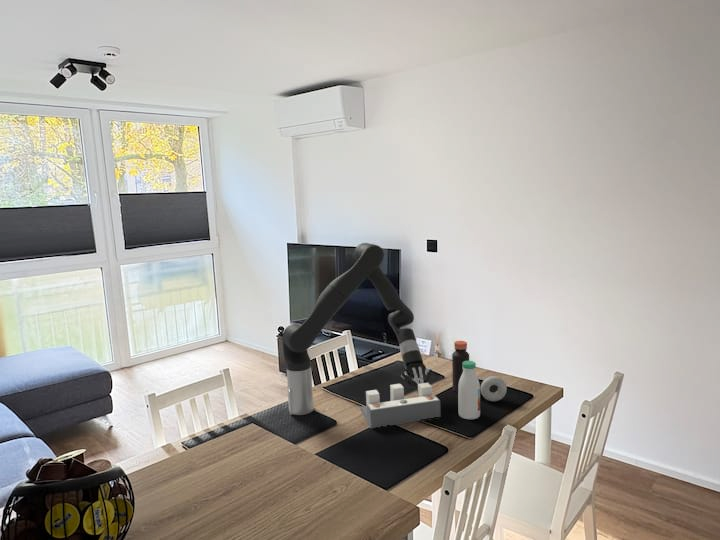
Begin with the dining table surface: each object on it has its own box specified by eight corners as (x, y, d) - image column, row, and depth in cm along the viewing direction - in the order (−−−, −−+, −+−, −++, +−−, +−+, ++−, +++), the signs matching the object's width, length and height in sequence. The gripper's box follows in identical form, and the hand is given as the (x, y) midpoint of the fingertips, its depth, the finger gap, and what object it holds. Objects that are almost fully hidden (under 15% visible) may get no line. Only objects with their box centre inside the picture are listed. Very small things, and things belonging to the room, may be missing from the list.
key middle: (394, 409, 182) (393, 388, 181) (390, 405, 186) (390, 384, 185) (404, 408, 183) (403, 387, 182) (400, 403, 187) (400, 383, 186)
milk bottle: (474, 422, 174) (474, 367, 171) (454, 416, 178) (454, 363, 175) (483, 413, 180) (483, 361, 177) (464, 408, 185) (463, 357, 181)
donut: (505, 398, 192) (505, 374, 190) (507, 402, 188) (508, 377, 187) (479, 399, 192) (479, 375, 190) (481, 403, 188) (481, 378, 187)
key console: (370, 428, 172) (370, 409, 171) (360, 410, 187) (360, 392, 186) (440, 417, 178) (440, 399, 177) (425, 400, 193) (425, 383, 192)
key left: (369, 416, 178) (368, 395, 176) (366, 411, 181) (365, 391, 180) (380, 414, 178) (379, 393, 177) (377, 410, 182) (376, 389, 181)
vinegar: (449, 387, 204) (449, 341, 201) (464, 385, 206) (463, 339, 203) (457, 394, 198) (457, 346, 194) (472, 391, 200) (472, 343, 196)
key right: (422, 408, 182) (421, 388, 181) (418, 404, 186) (417, 384, 185) (432, 407, 183) (431, 386, 182) (428, 402, 187) (427, 382, 185)
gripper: (396, 351, 192) (408, 393, 182) (428, 347, 195) (441, 389, 185) (393, 360, 198) (403, 401, 188) (424, 356, 201) (436, 396, 191)
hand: (422, 395), depth 186 cm, fingers closed
